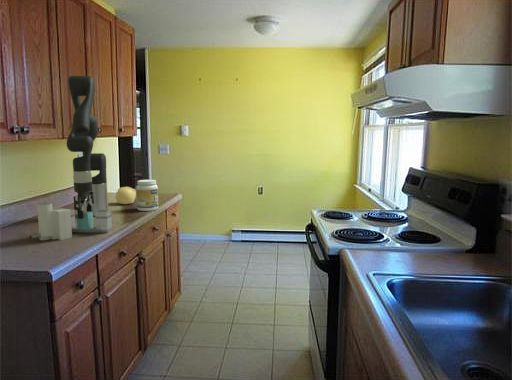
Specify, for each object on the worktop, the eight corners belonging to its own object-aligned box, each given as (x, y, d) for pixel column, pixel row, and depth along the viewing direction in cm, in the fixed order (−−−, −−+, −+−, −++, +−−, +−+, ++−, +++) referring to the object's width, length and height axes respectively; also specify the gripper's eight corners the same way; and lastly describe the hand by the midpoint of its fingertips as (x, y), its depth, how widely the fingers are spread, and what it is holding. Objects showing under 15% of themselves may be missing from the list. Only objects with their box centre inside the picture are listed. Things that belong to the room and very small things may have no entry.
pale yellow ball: (138, 202, 246) (138, 185, 244) (130, 205, 234) (129, 188, 232) (121, 201, 247) (120, 185, 245) (112, 205, 235) (111, 187, 234)
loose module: (93, 226, 176) (92, 210, 175) (88, 229, 171) (87, 213, 170) (82, 226, 177) (81, 210, 175) (77, 229, 172) (76, 213, 170)
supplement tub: (156, 211, 218) (155, 181, 215) (134, 211, 217) (133, 182, 214) (160, 207, 230) (159, 179, 227) (139, 207, 229) (138, 179, 226)
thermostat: (72, 237, 164) (69, 203, 161) (36, 245, 153) (33, 208, 151) (59, 232, 171) (56, 199, 169) (24, 239, 160) (21, 204, 158)
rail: (65, 229, 177) (63, 209, 176) (112, 229, 176) (111, 209, 175) (58, 232, 172) (57, 211, 170) (107, 232, 171) (106, 212, 170)
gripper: (83, 183, 164) (86, 220, 166) (98, 178, 178) (100, 212, 180) (66, 183, 164) (69, 220, 166) (82, 178, 178) (84, 212, 180)
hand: (85, 216), depth 173 cm, fingers open, 8 cm apart
